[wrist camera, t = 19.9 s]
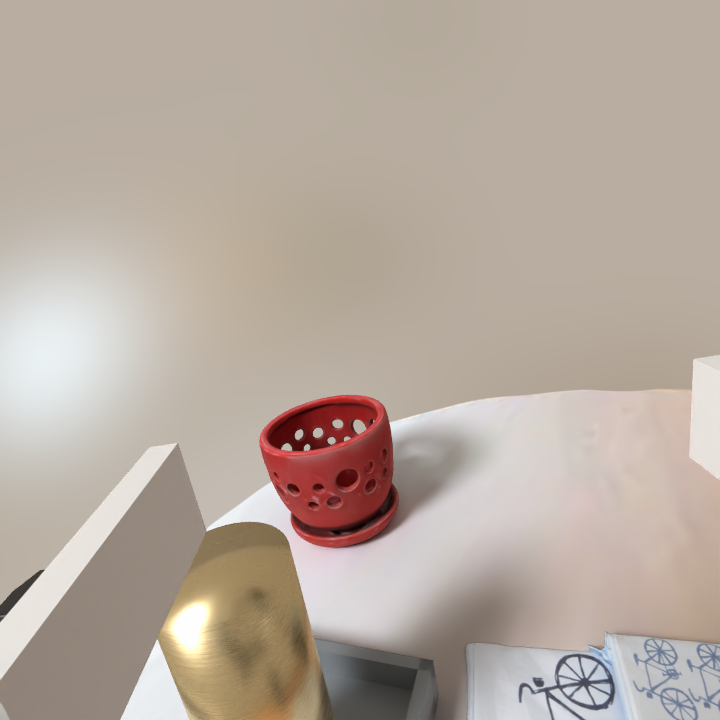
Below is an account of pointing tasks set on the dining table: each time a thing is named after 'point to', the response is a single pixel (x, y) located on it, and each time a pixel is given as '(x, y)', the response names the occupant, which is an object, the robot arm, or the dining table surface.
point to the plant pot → (333, 469)
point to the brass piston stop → (244, 632)
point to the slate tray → (377, 683)
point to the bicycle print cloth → (595, 681)
